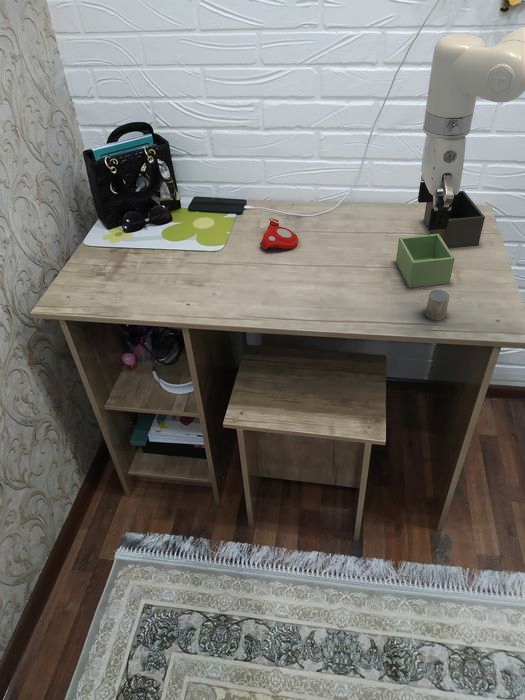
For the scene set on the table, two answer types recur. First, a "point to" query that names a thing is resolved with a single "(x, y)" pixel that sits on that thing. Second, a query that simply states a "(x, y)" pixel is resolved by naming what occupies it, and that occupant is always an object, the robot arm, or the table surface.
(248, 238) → the table surface
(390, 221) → the table surface
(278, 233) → the tracker holder
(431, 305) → the steel cylinder
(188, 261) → the table surface
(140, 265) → the table surface
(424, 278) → the left bin
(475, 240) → the right bin
